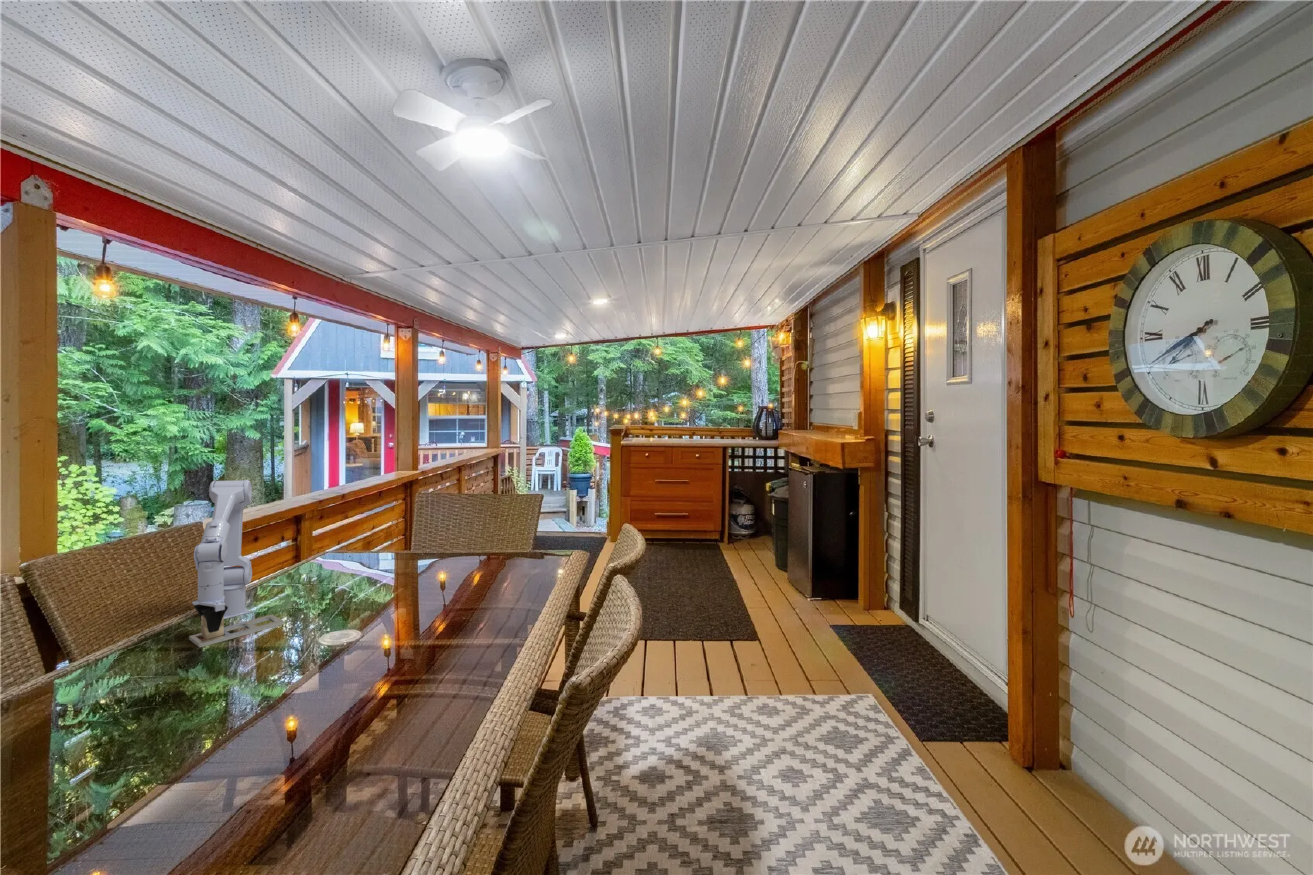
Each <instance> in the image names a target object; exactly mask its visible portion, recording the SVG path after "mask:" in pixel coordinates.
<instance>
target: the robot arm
mask: <svg viewBox="0 0 1313 875" xmlns="http://www.w3.org/2000/svg"><path fill="white" fill-rule="evenodd" d="M252 489H253V488H252V482H251V481H250V479H244V480H213V481H211V482H210V485H209V488H208V494H209V498H210V499H211V502H212V503H213V504H214V506H213V513H212V520H210V521H209V522H207V523H206V524H205V527H204V530H203V534H202V537H201V540H200V543H199V544H197V545H196V546H195V548H194V552H193V560H194V564H195V570H196V571H197V599H196V600H194V601H192V602H191V604H192V605H193V607H194V609H195V610H196V612H197V614H198V616H199V619H200V620H201V616H202V615H204V616H205V619H206V622H207V628H208V631H209V633H212V632H216V631H219V628H220V624H221V621H222V618H223V616H224V620H226V619H227V620H228V619H231V618H234V617H235V618H236V617H239V616H243V615H248V614H251V613H252V611H251V610H249V609H248V608H247V607H246V606H247V605H246V603H247V601H246V599H247V598H246V595H247V593H246V590H247V589H246V588H247V587H246V586H248V585H249V584H250V583H251V582H252V577H253V568H252V561H251V560H250V559H248V558H246V557H245V556H242V544H243V541H242V540H243V539H242V538H243V516H244V508H245V507H246V506H248V505H250V504H251V502H252V495H253V493H252Z"/></svg>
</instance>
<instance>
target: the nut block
mask: <svg viewBox="0 0 1313 875" xmlns="http://www.w3.org/2000/svg"><path fill="white" fill-rule="evenodd" d="M200 624H201V625H200V626H201V628H200V630H201V631H200V633H201V636H202V637H204V638H205V639H210V638H214V637H218V636H222V635H224V627H225V619H224V616H223V618H222V621H221V624H220V628H219V631H216V632H212V633H209V631H208V628H207V622H206V619H205V616H204V615H202V616H201V619H200Z"/></svg>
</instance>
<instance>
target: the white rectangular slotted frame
mask: <svg viewBox="0 0 1313 875" xmlns="http://www.w3.org/2000/svg"><path fill="white" fill-rule="evenodd" d="M267 621H272V622H269V623H265V624H261V625H259V626H257V625H255V624H260V623H263V622H267ZM284 622H285V621H284V620H283V619H281V618H279V617H277V616H276V615H274V614H269V615H265V616H262V617H258V618H253V619H250V620H246V621H242V622H238V623H234V624H230V625H227V626H224V635H221V636H218V637H214V638H210V639H205V638H204V637H202V636H201V632H200V633H196V634H193V635H189V636H188V640H189V641H190V642H192V643H193V644H194V645H195V646H197V647H198V648H203V647H206V646H210V645H214V644H217V643H221V642H225V641H228V640H232V639H235V638H239V637H243V636H246V635H250V634H254V633H257V632H261V631H265V630H268V629H272V628H275V627H279V626H282V625H284V624H285V623H284ZM245 627H246V628H247V629H244V630H240V631H236V632H232V633H230V631H233V630H238V629H241V628H245Z"/></svg>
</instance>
